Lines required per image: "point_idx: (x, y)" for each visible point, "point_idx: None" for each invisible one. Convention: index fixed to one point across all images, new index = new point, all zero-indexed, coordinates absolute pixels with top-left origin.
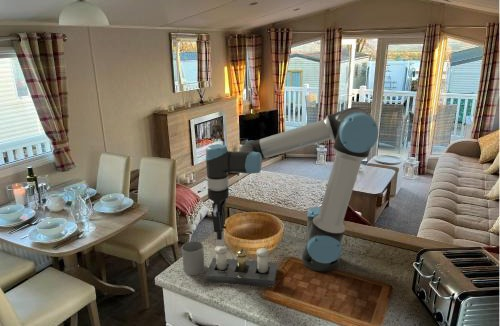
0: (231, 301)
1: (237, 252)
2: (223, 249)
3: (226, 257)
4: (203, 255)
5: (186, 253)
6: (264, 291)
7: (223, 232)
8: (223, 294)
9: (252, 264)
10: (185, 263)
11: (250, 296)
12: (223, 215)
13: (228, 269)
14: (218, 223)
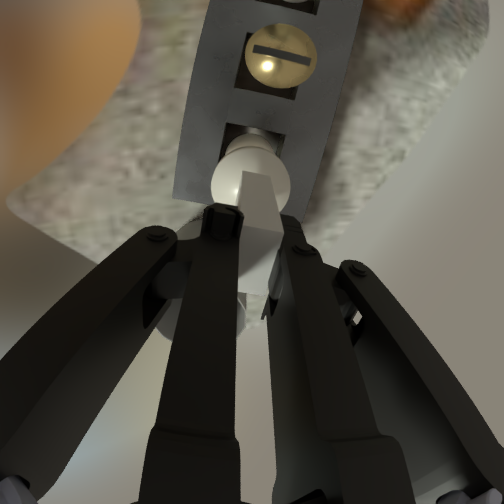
0: (414, 127)
1: (289, 81)
2: (265, 171)
3: (254, 142)
4: None
5: (240, 328)
6: (378, 10)
7: (264, 217)
8: (377, 148)
9: (239, 19)
10: (237, 300)
11: (400, 61)
12: (185, 353)
13: (271, 126)
14: (434, 371)
